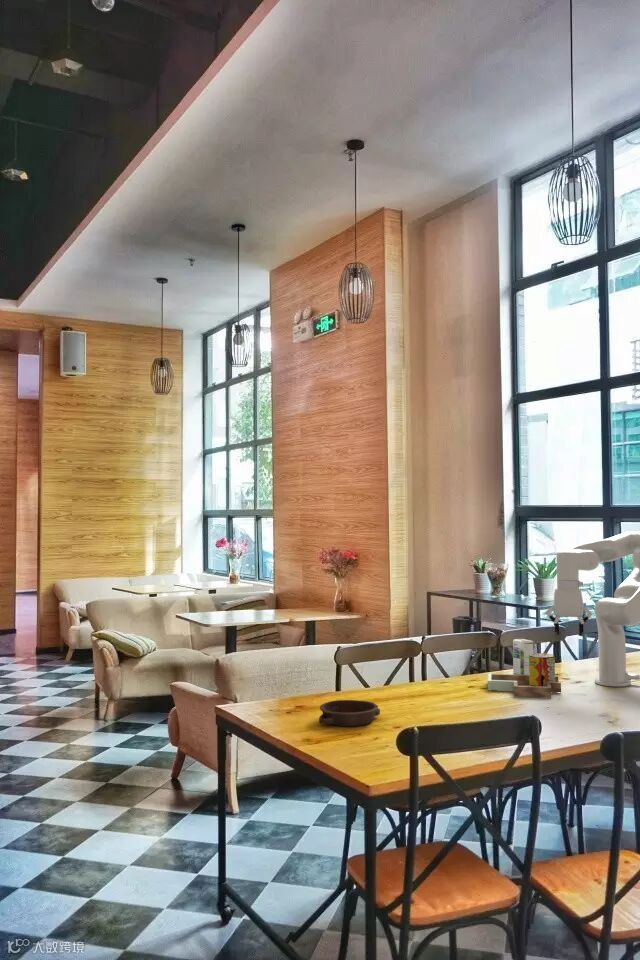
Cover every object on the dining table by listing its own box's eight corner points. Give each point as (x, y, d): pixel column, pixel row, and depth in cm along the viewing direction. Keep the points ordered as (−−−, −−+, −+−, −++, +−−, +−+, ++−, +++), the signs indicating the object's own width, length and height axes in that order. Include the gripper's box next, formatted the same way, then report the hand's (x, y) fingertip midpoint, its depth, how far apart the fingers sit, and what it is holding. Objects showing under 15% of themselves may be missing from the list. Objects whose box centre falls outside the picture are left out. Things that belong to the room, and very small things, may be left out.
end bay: (516, 683, 297) (516, 674, 297) (517, 691, 283) (517, 681, 283) (488, 682, 299) (488, 673, 299) (487, 690, 285) (487, 680, 285)
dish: (303, 721, 243) (302, 705, 243) (359, 711, 256) (359, 695, 256) (337, 734, 229) (337, 716, 229) (395, 722, 242) (395, 705, 242)
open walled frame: (558, 685, 293) (558, 676, 293) (563, 698, 272) (562, 688, 272) (491, 683, 298) (491, 673, 298) (491, 695, 277) (491, 685, 277)
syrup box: (512, 676, 310) (511, 639, 311) (524, 675, 312) (524, 638, 313) (522, 679, 305) (521, 641, 306) (534, 678, 307) (533, 640, 308)
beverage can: (529, 690, 285) (528, 656, 285) (530, 685, 293) (529, 652, 294) (555, 692, 282) (554, 657, 283) (555, 687, 291) (554, 653, 291)
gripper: (592, 584, 289) (593, 633, 289) (542, 584, 293) (543, 632, 292) (594, 586, 282) (595, 636, 281) (543, 585, 286) (544, 635, 285)
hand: (569, 634), depth 287 cm, fingers open, 7 cm apart
